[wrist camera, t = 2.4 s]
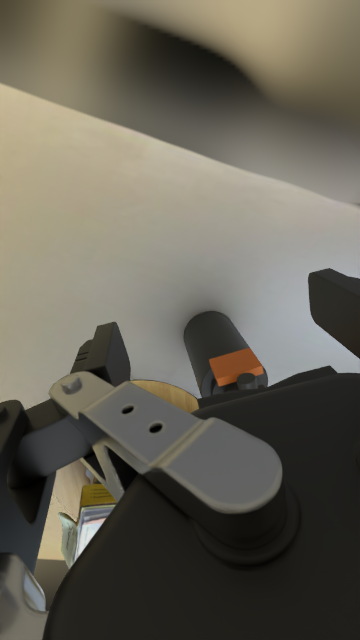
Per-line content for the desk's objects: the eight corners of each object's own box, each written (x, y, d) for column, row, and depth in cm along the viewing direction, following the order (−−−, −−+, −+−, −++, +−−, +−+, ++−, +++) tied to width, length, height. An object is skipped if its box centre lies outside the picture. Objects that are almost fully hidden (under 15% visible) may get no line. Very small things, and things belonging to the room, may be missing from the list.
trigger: (208, 359, 29) (217, 378, 26) (249, 347, 29) (262, 365, 26) (210, 366, 29) (219, 387, 26) (250, 354, 29) (263, 373, 26)
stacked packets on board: (86, 355, 42) (57, 454, 27) (247, 411, 49) (298, 515, 33) (28, 489, 49) (-20, 627, 34) (175, 521, 56) (190, 648, 41)
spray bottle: (174, 305, 41) (206, 406, 22) (226, 290, 41) (301, 378, 22) (190, 363, 44) (230, 492, 26) (238, 349, 44) (312, 467, 26)
